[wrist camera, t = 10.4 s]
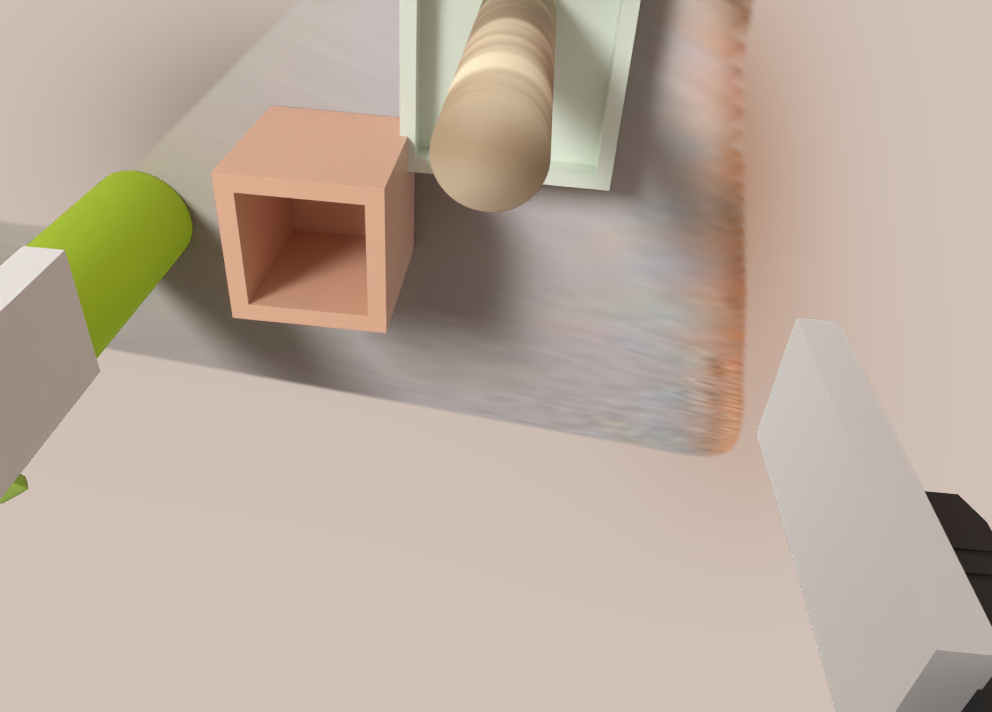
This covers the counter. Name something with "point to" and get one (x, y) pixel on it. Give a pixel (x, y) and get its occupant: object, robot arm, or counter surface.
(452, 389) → the counter surface
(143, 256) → the soap dispenser
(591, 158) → the tray
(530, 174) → the dowel
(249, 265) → the pot
